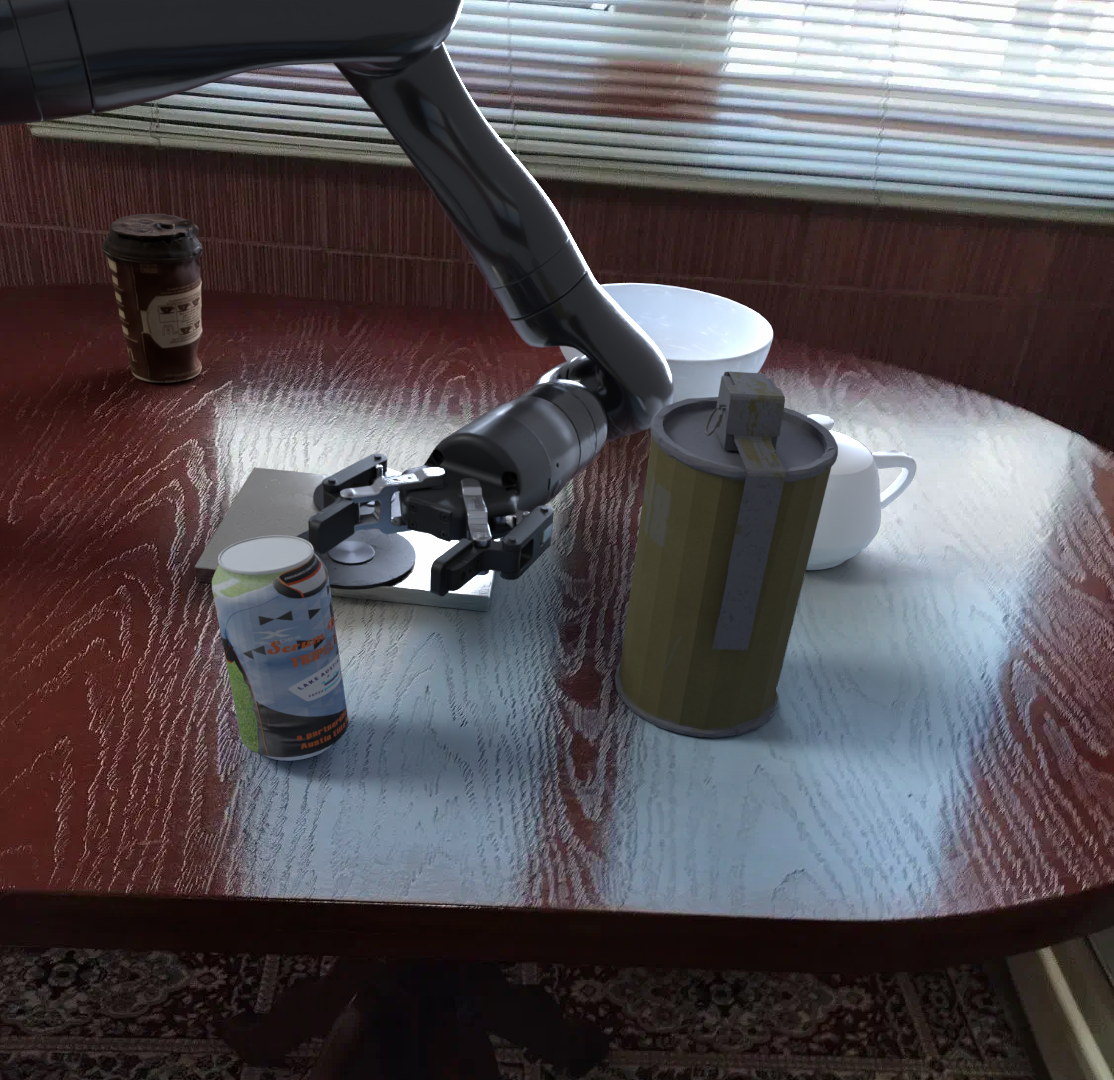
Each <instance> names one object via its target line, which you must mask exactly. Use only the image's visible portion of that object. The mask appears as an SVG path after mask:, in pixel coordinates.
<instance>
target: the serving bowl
mask: <svg viewBox="0 0 1114 1080" xmlns="http://www.w3.org/2000/svg"><path fill="white" fill-rule="evenodd" d="M599 285H600V286H601V287H602V288H603V290H604V291H605V292H606V293H607V294H608V295H609V296H610V297H611V298H612V299H613V300H614V301H615V302H616V303H617V304H618V306H619V307H620V308H621V309H622V310H623V311H624V312H625V313H626V314H627V315H628V316H629V317H630V318H631V319H632V320H633V321H634V322H635V323H636V324H637V325H638V326H639V327H640V328H641V329H642V330H643V331H644V332H645V333H646V334H647V335H648V337H649V338H650V339H651V340H652V341H653V342H654V343H655V345H656V346H657V347H658V349H659V350H660V351H661V353H662V354H663V356H664V358H665V360H666V362H667V364H668V366H669V368H670V371H671V374H672V378H673V384H674V399H673V403H676V402H679V401H682V400H685V399H688V398H706V397H718V395H719V389H720V383H721V377H722V376H724V373H725V372H728V371H730V372H746V373H760V370H761V369H762V367H763V365H764V364H765V362H766V359H767V357H768V356H769V355H768V354H769V352H770V349H771V347H772V344H773V343H772V342H773V340H774V330H773V328H772V325H771V324H770V323H769V321H768V320H767V319H766V318H765V317H764V316H762V315H761V314H760V313H759V312H757V311H755V310H753V309H752V308H749V307H748V306H746V305H744V304H741V303H739V302H737V301H734V300H732V299H730V298H727V297H723V296H720V295H717V294H713V293H709V292H704V291H702V290H701V291H700V290H697V289H691V288H686V287H680V286H674V285H666V284H656V283H637V282H626V283H625V282H623V283H605V284H599ZM559 349H560V351H561V354H562V355H563V357H564V359H565V361H568V360H571V359H573V358H576V357H579V356H581V355H584V354H582V353H581V352H580V351H578V350H577V349H575V348H572V347H567V346H559Z"/></svg>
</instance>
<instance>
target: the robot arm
mask: <svg viewBox="0 0 1114 1080" xmlns="http://www.w3.org/2000/svg"><path fill="white" fill-rule="evenodd" d="M463 5H464V0H0V127H2V126H11V125H12V126H14V125H23V124H33V123H40V122H48V121H54V120H62V119H68V118H69V119H70V118H75V117H82V116H88V115H92V114H94V115H96V114H100V113H101V114H102V113H107V112H112V111H117V110H121V109H126V108H130V107H135V106H138V105H142V104H146V103H150V102H154V101H158V100H162V99H165V98H168V97H171V96H175V95H178V94H181V93H185V92H188V91H191V90H194V89H196V88H197V89H198V88H201V87H203V86H205V85H209V84H212V83H215V82H218V81H221V80H223V79H226V78H230V77H233V76H237V75H240V74H243V73H247V72H248V73H249V72H251V71H257V70H263V69H269V68H276V67H277V68H278V67H285V66H287V67H288V66H303V65H321V64H333V65H334V66H335V67H336V69H337V70H338V72H339V73H340V74H341V75H342V76H343V78H345V79H346V81H347V82H348V84H350V86H351V87H352V88H353V89H354V91H356V93H357V94H358V95H359V96H360V98H361V99H362V100H363V102H365V103H366V105H367V106H368V107H369V109H370V110H371V111H372V113H374V115H375V116H376V117H377V118H378V119H379V121H380V122H381V124H382V125H383V126H384V128H385V129H386V130H387V131H388V133H389V134H390V135H391V137H392V138H393V140H394V141H395V142H396V143H397V145H398V146H399V148H400V149H401V150H402V151H403V153H404V154H405V156H406V157H407V158H408V160H409V162H410V163H411V164H412V166H413V167H414V168H415V170H416V171H417V172H418V175H419V176H420V177H421V180H423V182H424V183H425V185H426V186H427V187H428V189H429V190H430V192H431V193H432V196H434V198H435V200H436V201H437V203H438V205H439V206H440V208H441V209H442V211H443V212H444V214H445V216H446V217H447V218H448V220H449V222H450V223H451V225H452V226H453V228H454V230H455V231H456V234H457V235H458V236H459V238H460V240H461V241H462V243H463V245H464V247H465V248H466V249H467V251H468V253H469V255H470V256H471V258H472V260H473V261H474V264H475V265H476V266H477V268H478V270H479V272H480V274H481V275H482V277H483V278H484V280H485V282H486V284H487V285H488V287H489V289H490V290H491V293H492V294H493V295H494V297H495V298H496V300H497V303H498V304H499V305H500V307H501V308H502V310H503V312H504V313H505V316H506V317H507V318H508V320H509V322H510V324H511V325H512V327H513V329H514V330H515V332H516V333H517V335H518V336H519V338H520V339H521V340H522V341H523V342H524V343H525V344H527V345H528V346H529V347H532V348H533V347H534V348H539V349H541V348H552V347H560V346H567V347H572V348H575V349H577V350H578V351H580V352H581V353H582V354H584V355H581V356H579V357H576V358H573V359H571V360H568V361H567V360H565V361H564V362H561V363H560V364H559V363H558V365H556V366H554V367H552V368H551V369H549V370H547V371H546V372H544V373H543V374H542V375H540V377H538V379H537V380H536V381H535V383H534V384H533V385H532V386H531V388H530V389H528V390H526V391H524V392H523V393H522V394H520V395H519V396H517V397H515V398H514V399H512V400H510V401H507V402H504V403H502V404H499V405H496V406H495V407H493V408H491V409H489V410H487V411H486V412H484V413H483V414H481V415H480V416H478V417H477V418H474V419H473V420H471V421H470V422H469V423H467V424H465V425H464V426H462V427H460V428H459V429H457V430H456V431H453V432H452V433H451V434H450V435H447V436H445V438H443V439H442V440H441V441H440V442H439V443H437V444H436V446H435V448H433V450H432V451H431V453H430V455H429V456H428V457H427V459H426V461H425V462H424V463H423V465H420V466H418V467H412V468H408V469H406V470H404V471H403V472H400V471H398V470H395V469H392V468H390V467H388V456H387V455H385V454H384V453H371V454H369V455H368V456H365V457H364V458H362V459H359V460H358V461H355V462H354V463H352V464H350V465H348V466H346V467H344V468H343V469H341V470H339V471H337V472H335V473H333V474H330V475H331V476H329V477H327V478H325V479H324V480H323V508H324V509H323V510H321V512H318V513H317V514H315V515H313V516H312V517H310V519H309V521H308V527H309V542H310V543H311V544H312V546H313V549H314V552H316V553H319V554H325V553H326V552H328V551H329V550H331V549H332V548H334V547H335V546H337V545H338V544H340V543H341V542H343V541H344V540H346V539H347V538H349V537H350V536H352V535H353V534H354V532H355V531H362V530H370V529H379V530H380V531H381V532H382V533H383V534H391V533H398V532H405V531H416V532H421V533H426V534H431V535H432V536H434V537H436V538H438V539H440V540H443V541H446V542H450V541H452V540H453V541H459V542H457V543H456V544H455V545H453V546H452V547H451V548H449V549H448V550H447V551H446V552H444V553H443V554H442V555H440V556H439V557H438V558H436V559H435V560H434V561H433V563H432V565H431V569H430V592H431V593H433V594H436V595H439V596H442V597H443V596H444V595H446V594H447V593H448V592H449V591H452V592H453V591H456V590H459V589H461V588H462V587H463V586H464V585H466V584H467V583H468V582H469V581H470V580H472V579H473V578H474V577H475V576H484V575H487V574H488V573H489V570H492V571H496V572H499V573H500V574H499V576H500V578H501V579H503V580H506V581H515V580H516V581H517V580H518V579H519V578H521V577H522V576H523V574H524V573H525V572H527V571H528V569H530V567H531V566H532V565H534V563H536V562H537V560H539V558H540V557H542V555H543V554H544V553H545V552H546V551H547V550H548V549H549V548H550V547H551V546H552V536H553V527H554V516H555V515H554V514H555V509H554V507H552V506H549V505H548V504H549V503H550V502H551V501H553V500H554V499H555V498H557V496H558V495H559V494H560V493H561V492H562V491H563V490H564V488H565V487H566V485H567V484H568V483H569V482H571V481H572V480H573V479H575V478H576V477H577V476H579V475H580V474H581V473H582V472H584V471H585V470H586V469H587V468H588V467H589V466H590V465H592V464H593V462H594V461H595V460H596V459H597V457H598V456H599V455H600V454H601V452H602V450H603V448H604V446H605V444H607V443H610V442H613V441H616V440H619V439H623V438H625V437H628V436H631V435H634V434H637V433H638V434H639V433H640V432H643V431H646V430H650V425H651V421H652V418H653V416H654V415H655V414H656V413H657V412H658V411H659V410H660V409H661V408H663V407H665V406H667V405H670V404H673V399H674V384H673V378H672V374H671V371H670V368H669V366H668V364H667V362H666V360H665V358H664V356H663V354H662V353H661V351H660V350H659V349H658V347H657V346H656V345H655V343H654V342H653V341H652V340H651V339H650V338H649V337H648V335H647V334H646V333H645V332H644V331H643V330H642V329H641V328H640V327H639V326H638V325H637V324H636V323H635V322H634V321H633V320H632V319H631V318H630V317H629V316H628V315H627V314H626V313H625V312H624V311H623V310H622V309H621V308H620V307H619V306H618V304H617V303H616V302H615V301H614V300H613V299H612V298H611V297H610V296H609V295H608V294H607V293H606V292H605V291H604V290H603V288H602V287H601V286H600V285H601V284H599V283H598V281H597V280H596V278H595V277H594V275H593V273H592V271H591V269H590V267H589V266H588V264H587V262H586V260H585V258H584V256H583V254H582V253H581V251H580V249H579V247H578V246H577V243H576V242H575V240H574V238H573V236H572V234H571V233H570V231H569V229H568V227H567V225H566V224H565V221H564V220H563V218H562V216H561V215H560V213H559V212H558V210H557V209H556V207H555V206H554V204H553V203H552V201H551V200H550V198H549V197H548V196H547V194H546V193H545V191H544V190H543V189H542V187H541V186H540V185H539V183H538V182H537V181H536V179H535V178H534V177H533V175H532V174H530V172H529V171H528V170H527V169H526V167H525V166H524V165H523V163H522V162H521V161H520V160H519V159H518V158H517V157H516V155H515V154H514V153H513V152H512V151H511V149H510V148H509V147H508V146H507V144H506V143H504V141H503V140H502V139H501V137H499V135H498V134H497V132H496V131H495V130H494V129H493V128H492V126H491V125H490V124H489V123H488V122H489V121H487V119H486V118H485V117H484V115H483V114H482V112H481V111H480V109H479V108H478V106H477V104H476V103H475V102H474V100H473V99H472V97H471V95H470V94H469V92H468V90H467V89H466V87H465V85H464V83H463V82H462V79H461V78H460V76H459V74H458V72H457V71H456V68H455V65H454V64H453V62H452V59H451V57H450V55H449V52H448V51H447V48H446V46H445V41H446V39H447V38H448V37H449V35H450V34H451V33H452V30H453V29H454V27H455V25H456V23H457V21H458V20H459V17H460V15H461V11H462V8H463ZM396 492H399V503H400V511H401V516H397V517H391V499H392V496H393V494H394V493H396ZM371 501H374V512H373V513H371V514H365V515H360V507H362V506H364V505H366V504H367V503H369V502H371ZM500 538H502V541H496V540H497V539H500Z"/></svg>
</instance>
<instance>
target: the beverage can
mask: <svg viewBox="0 0 1114 1080" xmlns="http://www.w3.org/2000/svg"><path fill="white" fill-rule="evenodd" d="M218 563H219V566H218V568H217V570H216V572H215V574H214V576H213V579H212V583H211V591H212V596H213V601H214V606H215V611H216V616H217V622H218V626H219V631H220V637H221V642H222V643H221V644H222V647H223V652H224V658H225V663H226V668H227V674H228V678H229V684H230V689H231V695H232V700H233V705H234V709H235V716H236V720H237V725H238V730H239V735H240V740H241V742H242V744H243V745H244V746H245V747H246V748H247V749H249V750H250V751H252V752H254V753H256V754H258V755H262V756H264V757H266V758H269V759H272V760H277V761H284V762H285V761H287V762H289V761H290V762H291V761H299V760H305V759H309V758H312V757H315V756H318V755H320V754H322V753H324V752H326V751H327V750H328V749H330V748H331V747H332V746H333V745H334V744H336V743H337V742H338V741H339V740H341V739H342V737H343V736H344V735H345V734H346V732H347V730H348V727H349V716H348V709H347V702H346V693H345V687H344V680H343V672H342V665H341V657H340V651H339V643H338V637H337V636H338V635H337V629H336V621H335V614H334V606H333V599H332V596H331V592H330V584H329V577H328V572H327V568H326V566H325V565H324V563H323V562H322V561H321V559H320V558H319V557H318V556H317V555H316V554H315V553H314V549H313V546H312V544H311V543H310V542H308V541H307V540H304V539H302V538H298V537H293V536H284V535H273V536H262V537H256V538H251V539H247V540H243V541H240V542H237V543H235V544H232V545H230V546H229V547H227V548H225V549H224V550H223V551H222V552H221V553H220V554H219V557H218Z"/></svg>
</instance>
